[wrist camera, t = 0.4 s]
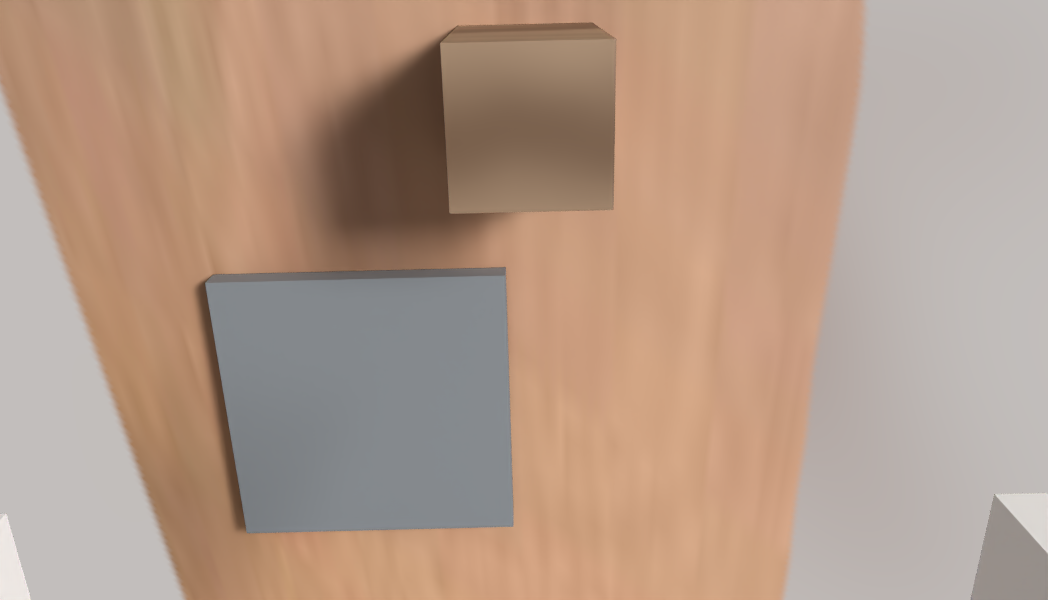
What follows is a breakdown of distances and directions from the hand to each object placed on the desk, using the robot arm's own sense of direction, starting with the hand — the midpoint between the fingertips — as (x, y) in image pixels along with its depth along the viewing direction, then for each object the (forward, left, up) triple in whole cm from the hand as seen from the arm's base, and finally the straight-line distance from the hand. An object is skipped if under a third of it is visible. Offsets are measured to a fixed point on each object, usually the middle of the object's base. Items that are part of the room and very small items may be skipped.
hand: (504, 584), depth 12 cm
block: (-3, +1, -24) cm, 24 cm away
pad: (+10, -6, -24) cm, 26 cm away
